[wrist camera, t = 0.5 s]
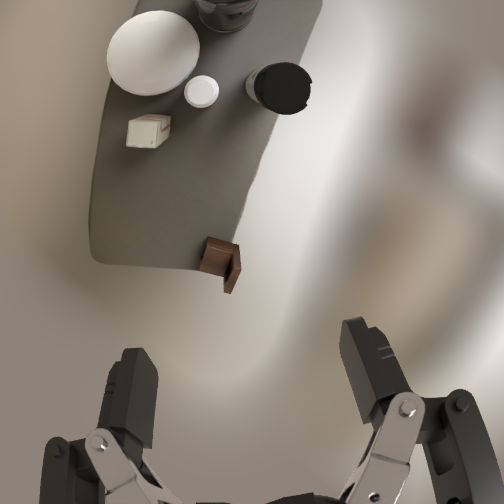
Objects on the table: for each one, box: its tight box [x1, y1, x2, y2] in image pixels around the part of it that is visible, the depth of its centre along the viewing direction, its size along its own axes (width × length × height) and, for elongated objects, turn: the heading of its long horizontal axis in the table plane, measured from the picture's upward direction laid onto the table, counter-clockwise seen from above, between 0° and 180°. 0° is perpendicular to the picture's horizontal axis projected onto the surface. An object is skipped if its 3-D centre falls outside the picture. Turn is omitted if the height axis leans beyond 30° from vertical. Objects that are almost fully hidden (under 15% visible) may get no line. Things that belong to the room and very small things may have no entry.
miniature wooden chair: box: [199, 237, 241, 294], centre depth 60 cm, size 6×7×9 cm
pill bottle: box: [184, 75, 219, 108], centre depth 41 cm, size 6×5×10 cm
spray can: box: [246, 62, 312, 115], centre depth 37 cm, size 7×7×20 cm
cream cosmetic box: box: [126, 114, 171, 148], centre depth 44 cm, size 5×4×10 cm
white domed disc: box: [106, 11, 200, 96], centre depth 37 cm, size 16×16×7 cm
